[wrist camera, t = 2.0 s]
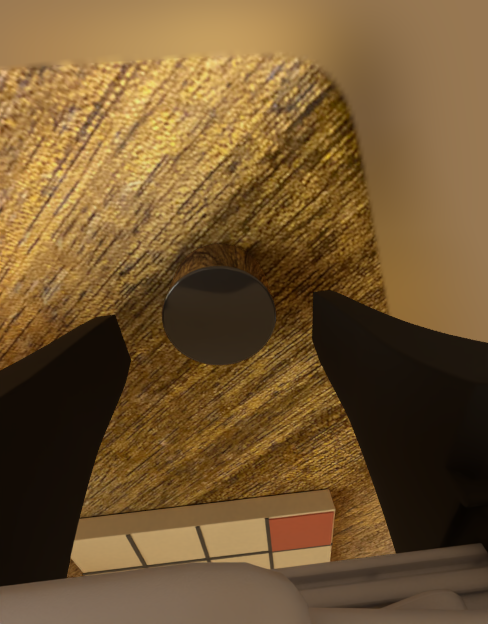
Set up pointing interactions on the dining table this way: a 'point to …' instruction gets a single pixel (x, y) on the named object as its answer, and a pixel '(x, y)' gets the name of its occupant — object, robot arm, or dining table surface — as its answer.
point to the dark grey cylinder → (219, 306)
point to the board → (211, 534)
